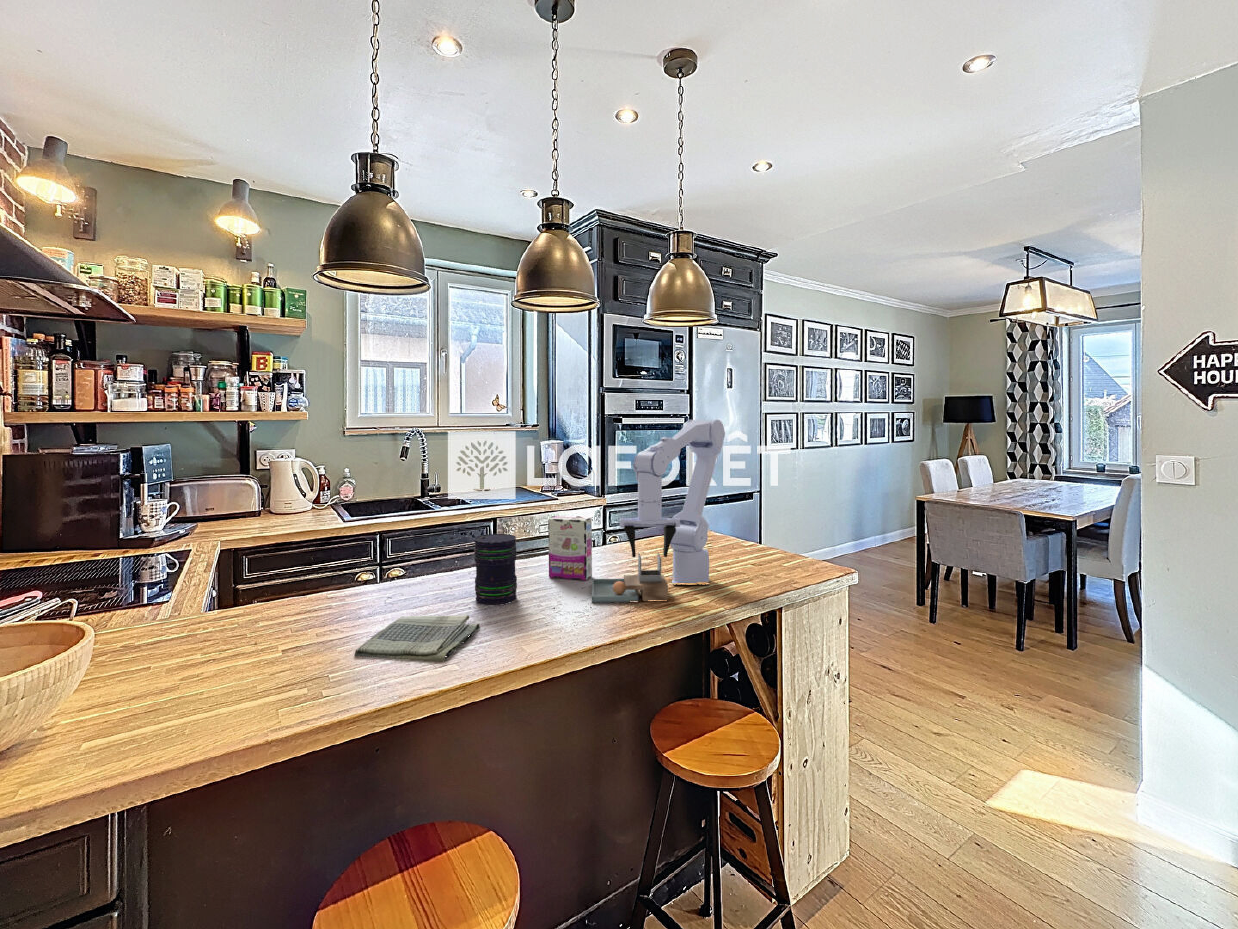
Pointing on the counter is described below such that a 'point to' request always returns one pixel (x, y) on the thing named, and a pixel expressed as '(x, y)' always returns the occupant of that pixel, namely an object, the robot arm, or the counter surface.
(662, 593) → the stand
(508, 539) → the storage jar
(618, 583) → the ball
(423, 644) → the dish towel
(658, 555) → the sleeve
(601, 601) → the tray
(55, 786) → the counter surface
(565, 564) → the candy bar box
